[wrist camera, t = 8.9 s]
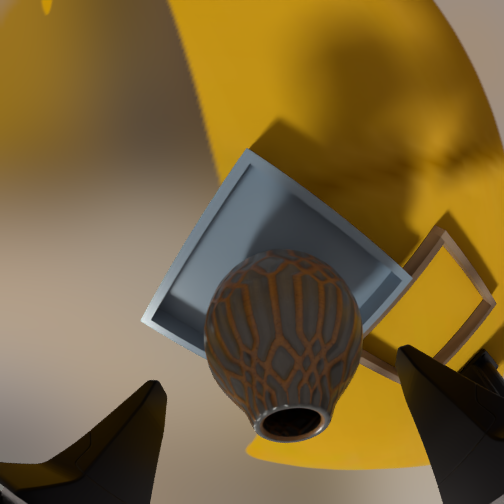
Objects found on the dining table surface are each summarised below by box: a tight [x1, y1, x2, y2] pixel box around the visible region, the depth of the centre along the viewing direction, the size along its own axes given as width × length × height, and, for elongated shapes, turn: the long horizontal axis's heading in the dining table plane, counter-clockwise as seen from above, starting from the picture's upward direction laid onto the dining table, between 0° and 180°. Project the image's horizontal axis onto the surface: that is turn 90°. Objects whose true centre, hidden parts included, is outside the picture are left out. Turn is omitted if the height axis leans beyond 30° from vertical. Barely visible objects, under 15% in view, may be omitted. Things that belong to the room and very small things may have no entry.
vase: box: [204, 249, 363, 443], centre depth 11 cm, size 7×7×9 cm
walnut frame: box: [359, 225, 496, 384], centre depth 16 cm, size 10×10×1 cm
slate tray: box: [141, 148, 413, 359], centre depth 15 cm, size 11×11×2 cm
